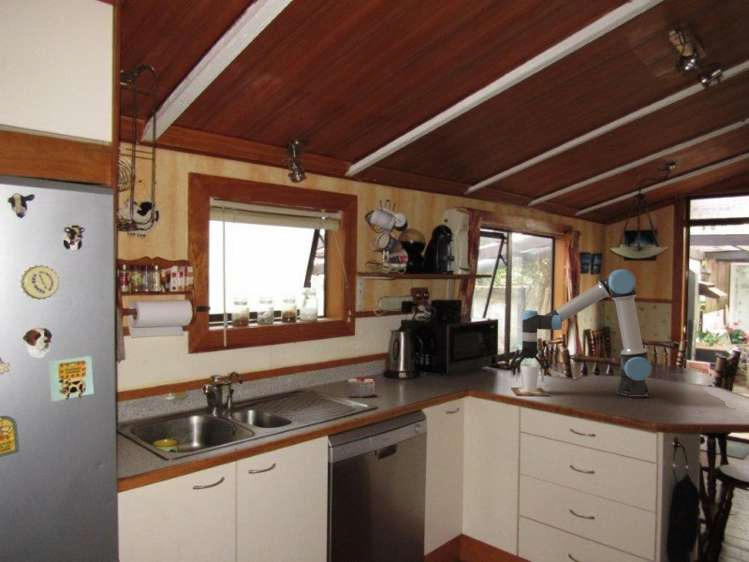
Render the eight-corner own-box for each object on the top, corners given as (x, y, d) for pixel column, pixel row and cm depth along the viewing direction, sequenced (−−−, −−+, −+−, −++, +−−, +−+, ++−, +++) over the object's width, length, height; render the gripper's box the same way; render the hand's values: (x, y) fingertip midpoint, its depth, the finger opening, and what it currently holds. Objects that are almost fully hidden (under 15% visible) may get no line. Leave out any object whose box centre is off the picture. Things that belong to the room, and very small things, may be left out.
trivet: (541, 389, 287) (541, 387, 287) (549, 396, 271) (549, 394, 271) (510, 389, 288) (510, 386, 288) (516, 395, 272) (516, 393, 272)
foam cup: (534, 393, 273) (535, 367, 273) (517, 390, 278) (517, 365, 278) (541, 390, 280) (541, 365, 280) (524, 387, 286) (524, 363, 286)
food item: (373, 393, 275) (373, 374, 275) (375, 397, 267) (375, 377, 267) (346, 394, 274) (346, 375, 273) (347, 398, 266) (347, 378, 265)
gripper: (552, 339, 282) (552, 380, 282) (504, 339, 284) (503, 379, 284) (556, 341, 274) (555, 383, 275) (506, 341, 276) (506, 382, 276)
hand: (529, 381), depth 279 cm, fingers open, 13 cm apart
